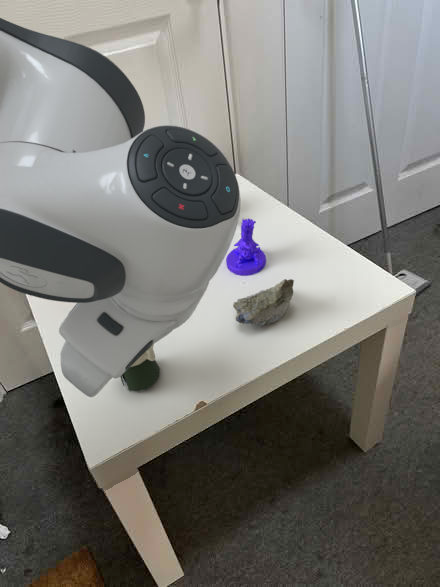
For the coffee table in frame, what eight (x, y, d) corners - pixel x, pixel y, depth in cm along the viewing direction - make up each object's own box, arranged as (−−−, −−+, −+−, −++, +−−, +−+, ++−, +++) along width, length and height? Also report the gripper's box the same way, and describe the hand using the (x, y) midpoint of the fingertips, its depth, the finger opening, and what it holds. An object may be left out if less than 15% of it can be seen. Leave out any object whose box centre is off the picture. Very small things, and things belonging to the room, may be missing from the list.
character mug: (102, 377, 74) (76, 323, 65) (133, 348, 78) (112, 293, 69) (150, 410, 69) (128, 356, 60) (181, 377, 72) (165, 321, 63)
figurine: (269, 275, 89) (274, 233, 82) (229, 279, 88) (230, 236, 81) (260, 250, 94) (264, 209, 87) (223, 253, 93) (223, 212, 86)
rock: (274, 281, 84) (297, 272, 74) (288, 311, 84) (313, 306, 74) (221, 306, 81) (237, 300, 71) (235, 337, 81) (254, 335, 71)
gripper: (196, 191, 46) (173, 254, 58) (42, 342, 36) (55, 379, 49) (245, 230, 45) (212, 285, 58) (104, 392, 36) (100, 416, 48)
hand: (139, 329), depth 53 cm, fingers open, 8 cm apart
